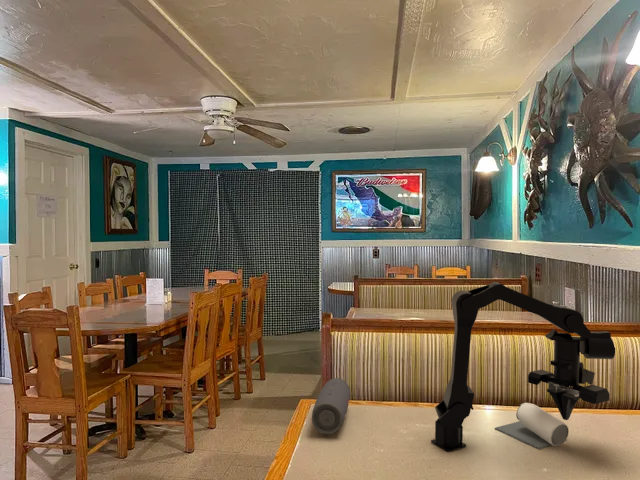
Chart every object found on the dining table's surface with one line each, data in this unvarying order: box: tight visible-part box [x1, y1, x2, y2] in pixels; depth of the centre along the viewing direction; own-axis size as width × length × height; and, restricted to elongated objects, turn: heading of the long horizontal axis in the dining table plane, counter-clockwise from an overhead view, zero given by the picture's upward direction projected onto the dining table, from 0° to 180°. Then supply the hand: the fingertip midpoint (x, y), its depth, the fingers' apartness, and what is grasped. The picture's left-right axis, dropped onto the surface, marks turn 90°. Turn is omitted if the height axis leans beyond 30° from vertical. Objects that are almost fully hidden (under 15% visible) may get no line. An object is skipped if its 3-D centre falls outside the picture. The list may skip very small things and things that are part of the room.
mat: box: [494, 420, 567, 450], centre depth 129 cm, size 11×14×1 cm
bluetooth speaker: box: [311, 377, 351, 435], centre depth 137 cm, size 23×9×10 cm, turn 171°
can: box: [515, 402, 569, 447], centre depth 126 cm, size 6×6×12 cm
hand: (565, 419), depth 119 cm, fingers closed
